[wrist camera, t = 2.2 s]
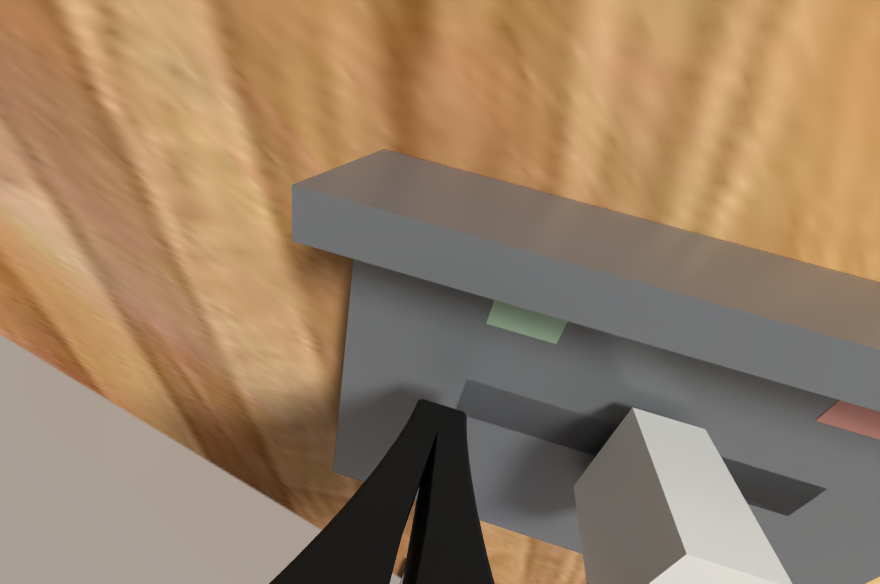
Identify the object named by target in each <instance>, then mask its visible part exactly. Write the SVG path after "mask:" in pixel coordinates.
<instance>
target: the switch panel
mask: <svg viewBox="0 0 880 584" xmlns="http://www.w3.org/2000/svg"><path fill="white" fill-rule="evenodd" d="M292 241H293V242H297V243H300V244H304V245H307V246H311V247H314V248H317V249H321V250H324V251H328V252H331V253H335V254H338V255H342V256H345V257H348V258H352V259H353V269H352V279H351V290H350V300H349V311H348V321H347V332H346V342H345V353H344V363H343V374H342V384H341V395H340V405H339V416H338V426H337V437H336V447H335V458H334V468H333V472H335V473H338V474H341V475H344V476H347V477H351V478H354V479H357V480H360V481H363V482H365V481H366V479H367V478H368V477H369V476H370V474H371V473H372V472H373V471H374V469H375V468H376V467H377V466H378V464H379V463H380V462H381V460H382V459H383V457H384V456H385V455H386V453H387V452H388V450H389V449H390V448H391V446H392V445H393V443H394V442H395V441H396V439H397V438H398V436H399V434H400V433H401V431H402V430H403V428H404V427H405V425H406V423H407V422H408V420H409V418H410V416H411V414H412V412H413V411H414V409H415V406H416V404H417V402H418V400H421V399H425V400H428V401H431V402H434V403H437V404H441V405H444V406H447V407H450V408H454V409H457V410H460V411H463V412H465V414H466V415H467V442H468V453H469V462H470V470H471V477H472V483H473V489H474V495H475V501H476V506H477V511H478V517H479V520H481V521H484V522H487V523H490V524H493V525H496V526H499V527H502V528H505V529H508V530H511V531H514V532H517V533H520V534H523V535H527V536H530V537H533V538H536V539H539V540H542V541H545V542H548V543H551V544H554V545H557V546H560V547H563V548H566V549H569V550H572V551H575V552H578V553H581V554H583V551H582V544H581V537H580V530H579V523H578V516H577V509H576V502H575V495H574V488H573V486H574V485H575V484H576V482H577V481H578V480H579V478H580V477H581V476H582V474H583V473H584V472H585V470H586V469H587V468H588V466H589V465H590V464H591V462H592V461H593V460H594V458H595V457H596V456H597V454H598V453H599V452H600V450H601V449H602V447H603V446H604V445H605V443H606V442H607V441H608V439H609V438H610V437H611V435H612V434H613V433H614V431H615V430H616V429H617V427H618V426H619V425H620V423H621V422H622V421H623V419H624V418H625V417H626V415H627V414H628V413H629V411H630V410H631V409H632V407H633V408H637V409H640V410H643V411H646V412H650V413H653V414H656V415H660V416H663V417H666V418H670V419H673V420H676V421H680V422H683V423H686V424H690V425H693V426H696V427H699V428H703V429H705V430H706V431H707V433H708V435H709V437H710V438H711V440H712V442H713V444H714V446H715V447H716V449H717V451H718V453H719V454H720V456H721V458H722V460H723V461H724V463H725V465H726V467H727V469H728V470H729V472H730V474H731V476H732V477H733V479H734V481H735V483H736V485H737V486H738V488H739V490H740V492H741V493H742V495H743V497H744V499H745V500H746V502H747V504H748V506H749V508H750V509H751V511H752V513H753V515H754V516H755V518H756V520H757V522H758V524H759V525H760V527H761V529H762V531H763V532H764V534H765V536H766V538H767V539H768V541H769V543H770V545H771V547H772V548H773V550H774V552H775V554H776V555H777V557H778V559H779V561H780V563H781V564H782V566H783V568H784V570H785V571H786V573H787V575H788V577H789V578H790V580H791V582H792V584H865V583H867V582H869V581H871V580H873V579H875V578H877V577H879V576H880V283H879V282H876V281H872V280H868V279H864V278H861V277H857V276H853V275H850V274H846V273H842V272H838V271H835V270H831V269H827V268H824V267H820V266H816V265H812V264H809V263H805V262H801V261H798V260H794V259H790V258H786V257H783V256H779V255H775V254H772V253H768V252H764V251H760V250H757V249H753V248H749V247H746V246H742V245H738V244H734V243H731V242H727V241H723V240H720V239H716V238H712V237H708V236H705V235H701V234H697V233H694V232H690V231H686V230H682V229H679V228H675V227H671V226H668V225H664V224H660V223H656V222H653V221H649V220H645V219H642V218H638V217H634V216H630V215H627V214H623V213H619V212H616V211H612V210H608V209H604V208H601V207H597V206H593V205H590V204H586V203H582V202H578V201H575V200H571V199H567V198H564V197H560V196H556V195H552V194H549V193H545V192H541V191H538V190H534V189H530V188H526V187H523V186H519V185H515V184H512V183H508V182H504V181H500V180H497V179H493V178H489V177H486V176H482V175H478V174H474V173H471V172H467V171H463V170H460V169H456V168H452V167H448V166H445V165H441V164H437V163H434V162H430V161H426V160H422V159H419V158H415V157H411V156H408V155H404V154H400V153H396V152H393V151H389V150H385V149H383V150H381V151H378V152H376V153H373V154H371V155H368V156H365V157H363V158H360V159H358V160H355V161H352V162H350V163H347V164H345V165H342V166H340V167H337V168H334V169H332V170H329V171H327V172H324V173H321V174H319V175H316V176H314V177H311V178H309V179H306V180H303V181H301V182H298V183H296V184H293V185H292ZM418 490H419V488H418ZM417 496H418V491H417V494H416V497H415V499H417Z"/></svg>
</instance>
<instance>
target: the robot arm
mask: <svg viewBox="0 0 880 584" xmlns="http://www.w3.org/2000/svg"><path fill="white" fill-rule="evenodd" d="M418 488H419V490H418ZM417 491H418V496H417V502H416V507H415V513H414V519H413V525H412V530H411V536H410V542H409V548H408V553H407V559H406V565H405V571H404V574H403V577H402V579H401V582H400V584H494V580H493V576H492V572H491V569H490V565H489V561H488V557H487V553H486V548H485V544H484V540H483V535H482V531H481V526H480V521H479V517H478V511H477V506H476V501H475V495H474V489H473V483H472V477H471V470H470V462H469V453H468V442H467V415H466V414H465V412H463V411H460V410H457V409H454V408H450V407H447V406H444V405H441V404H437V403H434V402H431V401H428V400H425V399H421V400H418V402H417V404H416V406H415V409H414V411H413V412H412V414H411V416H410V418H409V420H408V422H407V423H406V425H405V427H404V428H403V430H402V431H401V433H400V434H399V436H398V438H397V439H396V441H395V442H394V443H393V445H392V446H391V448H390V449H389V450H388V452H387V453H386V455H385V456H384V457H383V459H382V460H381V462H380V463H379V464H378V466H377V467H376V468H375V469H374V471H373V472H372V473H371V474H370V476H369V477H368V478H367V479H366V481H365V482H364V483H363V484H362V486H361V487H360V488H359V489H358V490H357V492H356V493H355V494H354V495H353V496H352V498H351V499H350V500H349V501H348V502H347V503H346V505H345V506H344V507H343V508H342V509H341V510H340V511H339V513H338V514H337V515H336V516H335V517H334V518H333V519H332V520H331V521H330V522H329V524H328V525H327V526H326V527H325V528H324V529H323V530H322V531H321V532H320V533H319V534H318V535H317V536H316V537H315V538H314V540H312V541H311V543H310V544H309V545H308V546H307V547H306V548H305V549H304V550H303V551H302V552H301V553H300V554H299V555H298V556H297V557H296V558H295V559H294V560H293V561H292V562H291V563H290V564H289V565H288V566H287V567H286V568H285V569H284V570H283V571H282V572H281V573H280V574H279V575H278V576H277V577H276V578H275V579H274V580H273V581H271V582H270V583H269V584H389V583H390V579H391V575H392V572H393V568H394V564H395V560H396V556H397V552H398V548H399V545H400V541H401V537H402V534H403V531H404V528H405V525H406V522H407V519H408V517H409V514H410V511H411V508H412V505H413V502H414V499H415V497H416V494H417Z"/></svg>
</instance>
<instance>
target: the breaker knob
mask: <svg viewBox="0 0 880 584" xmlns="http://www.w3.org/2000/svg"><path fill="white" fill-rule="evenodd" d="M573 488H574V495H575V502H576V509H577V516H578V523H579V530H580V537H581V544H582V551H583V558H584V565H585V572H586V579H587V584H792V582H791V580H790V578H789V577H788V575H787V573H786V571H785V570H784V568H783V566H782V564H781V563H780V561H779V559H778V557H777V555H776V554H775V552H774V550H773V548H772V547H771V545H770V543H769V541H768V539H767V538H766V536H765V534H764V532H763V531H762V529H761V527H760V525H759V524H758V522H757V520H756V518H755V516H754V515H753V513H752V511H751V509H750V508H749V506H748V504H747V502H746V500H745V499H744V497H743V495H742V493H741V492H740V490H739V488H738V486H737V485H736V483H735V481H734V479H733V477H732V476H731V474H730V472H729V470H728V469H727V467H726V465H725V463H724V461H723V460H722V458H721V456H720V454H719V453H718V451H717V449H716V447H715V446H714V444H713V442H712V440H711V438H710V437H709V435H708V433H707V431H706V430H705V429H703V428H699V427H696V426H693V425H690V424H686V423H683V422H680V421H676V420H673V419H670V418H666V417H663V416H660V415H656V414H653V413H650V412H646V411H643V410H640V409H637V408H633V407H632V409H631V410H630V411H629V413H628V414H627V415H626V417H625V418H624V419H623V421H622V422H621V423H620V425H619V426H618V427H617V429H616V430H615V431H614V433H613V434H612V435H611V437H610V438H609V439H608V441H607V442H606V443H605V445H604V446H603V447H602V449H601V450H600V452H599V453H598V454H597V456H596V457H595V458H594V460H593V461H592V462H591V464H590V465H589V466H588V468H587V469H586V470H585V472H584V473H583V474H582V476H581V477H580V478H579V480H578V481H577V482H576V484H575V485H574V486H573Z"/></svg>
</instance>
